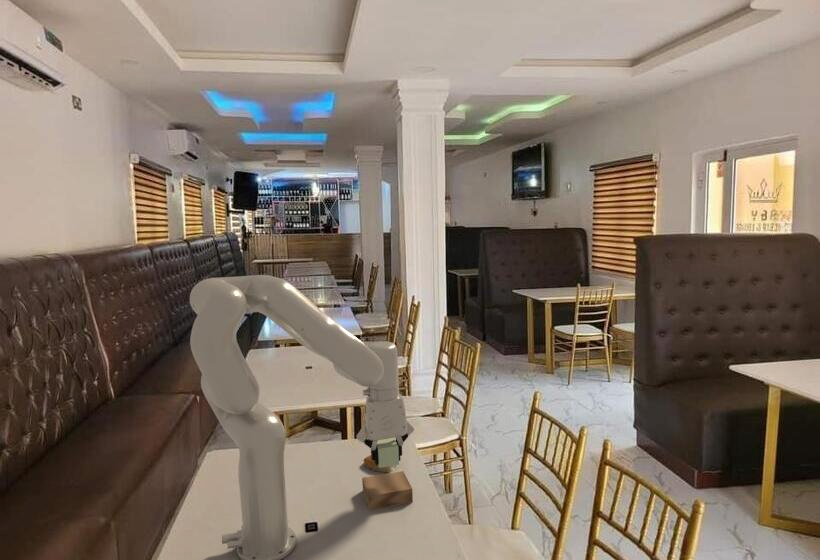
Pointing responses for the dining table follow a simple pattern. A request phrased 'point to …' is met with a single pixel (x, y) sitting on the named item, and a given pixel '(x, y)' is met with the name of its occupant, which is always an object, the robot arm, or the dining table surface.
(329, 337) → the robot arm
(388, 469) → the pastry
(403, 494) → the walnut block
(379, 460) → the green cube
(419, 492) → the dining table surface
